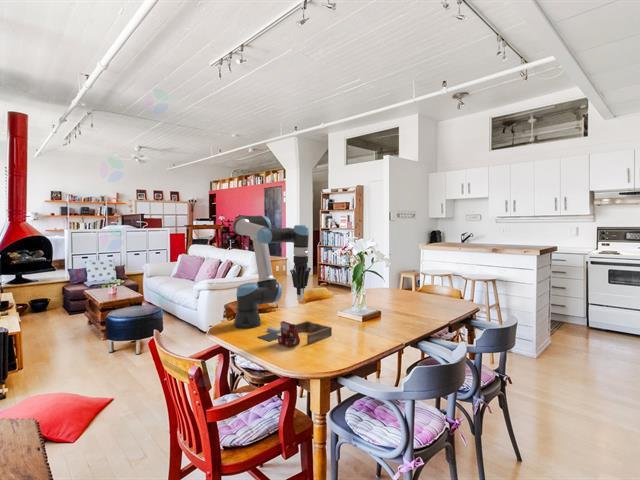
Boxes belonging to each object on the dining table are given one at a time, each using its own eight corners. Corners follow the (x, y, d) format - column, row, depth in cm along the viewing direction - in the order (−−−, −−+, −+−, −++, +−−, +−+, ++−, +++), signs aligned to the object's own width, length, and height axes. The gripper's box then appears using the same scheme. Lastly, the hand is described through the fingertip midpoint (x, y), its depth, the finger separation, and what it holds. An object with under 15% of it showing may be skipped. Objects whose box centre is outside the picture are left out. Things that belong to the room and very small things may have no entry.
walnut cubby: (284, 336, 185) (284, 328, 185) (307, 328, 198) (307, 320, 198) (309, 344, 174) (309, 335, 174) (331, 335, 187) (331, 327, 187)
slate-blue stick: (267, 331, 195) (267, 327, 195) (270, 330, 197) (270, 326, 196) (277, 334, 189) (277, 331, 189) (280, 333, 191) (280, 330, 191)
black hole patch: (257, 337, 184) (257, 336, 184) (270, 333, 191) (270, 332, 191) (269, 341, 178) (269, 340, 178) (282, 337, 185) (282, 336, 185)
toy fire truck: (291, 349, 168) (291, 327, 167) (275, 342, 177) (275, 322, 176) (303, 345, 173) (303, 324, 172) (286, 339, 182) (286, 319, 181)
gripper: (296, 257, 176) (296, 304, 178) (314, 255, 186) (314, 299, 188) (286, 255, 181) (285, 301, 183) (304, 253, 191) (304, 297, 193)
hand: (300, 300), depth 185 cm, fingers closed
